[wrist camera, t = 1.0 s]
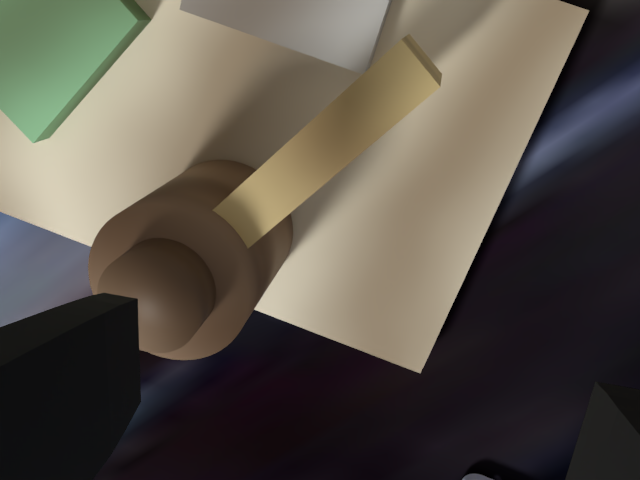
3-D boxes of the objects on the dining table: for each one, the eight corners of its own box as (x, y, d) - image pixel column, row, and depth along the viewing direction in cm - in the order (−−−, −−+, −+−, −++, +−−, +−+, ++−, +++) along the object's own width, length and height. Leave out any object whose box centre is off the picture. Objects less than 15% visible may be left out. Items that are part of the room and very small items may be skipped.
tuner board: (579, 10, 15) (596, 11, 14) (422, 352, 20) (419, 388, 18) (9, -183, 16) (-46, -206, 15) (-20, 184, 21) (-65, 201, 19)
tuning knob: (228, 310, 19) (154, 412, 14) (139, 215, 18) (31, 289, 14) (477, 111, 15) (489, 160, 11) (375, -14, 15) (339, -22, 10)
